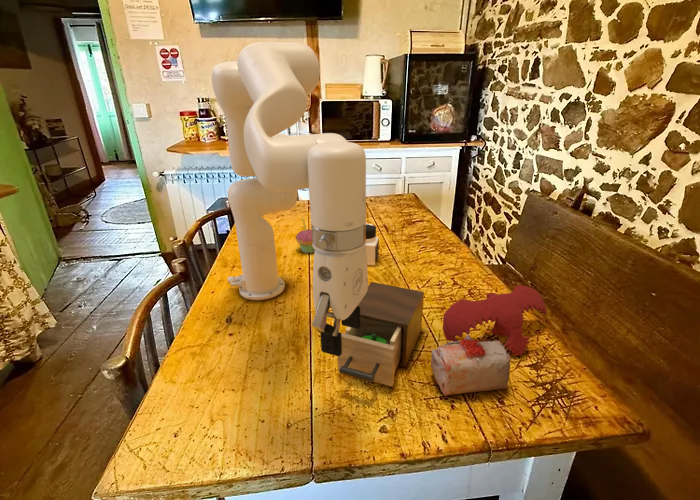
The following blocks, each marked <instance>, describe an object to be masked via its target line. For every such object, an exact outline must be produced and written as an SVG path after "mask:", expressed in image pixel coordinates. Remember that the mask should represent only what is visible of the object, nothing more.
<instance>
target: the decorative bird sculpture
mask: <svg viewBox="0 0 700 500" xmlns="http://www.w3.org/2000/svg"><path fill="white" fill-rule="evenodd" d="M529 309H530V310H531V311H532V312H534V309H535V310H536V311H538V312H539V311H540V312H541V314H544V316H545V317H546V316H547V312H548V311H547V307H546V303H545V301H544V299H543V297H542V295H541V294H540V293H539V292H538V291H537V290H536V289H534V288H532V287H530V286H527V285H521V284H518V285H515V286H514V287H513V290H512V291H511V292H509V293H493V292H489V293H486V298H485V299H482V300H477V301H476V300H469V299H465V298H460V299H459V300H457V301H456V302H454V303H452V304H451V305H450V306H449V308H447V310H446V311H445V312H444V314H443V316H442V321H443V322H442V331H443V334H444V338H445V340H446V341H449V342H457V337H458V338H463V333H465V334H466V335H468V334H469V335H470V333H471V329H473V330H477V324H478V325H479V326H484V323H486V324H489V321H490V322H491V323H494V324H493V327H492V328H491V330H489V329H485V330H484V331H483V332H484V333H486V334H487V337H489V336H490V334H493V335H497V336H501V337H505V336H506V338H507V341H506V342H505V343H504V344H503V346H504V347H506V351H507V350H508V351H509V350H510V354H512V357H516V356H519V357H520V358H521V357H522V356H523V355H522V354H526V350H527V349H529V347H528V344H530V343H531V342H530V341H529V339H530V336H525V335H524V334H523V324H524V314H525V312H527V313H529V312H530V310H529ZM525 349H526V350H525Z"/></svg>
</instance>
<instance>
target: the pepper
mask: <svg viewBox="0 0 700 500" xmlns="http://www.w3.org/2000/svg"><path fill="white" fill-rule="evenodd" d="M361 338H364V339H368V340H372V341H376V342H380V343H384V344H386V340H385V339H383V338H381V337H378V336H377V334H372V335H366V336H363V337H361Z"/></svg>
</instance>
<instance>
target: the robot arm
mask: <svg viewBox="0 0 700 500" xmlns="http://www.w3.org/2000/svg"><path fill="white" fill-rule="evenodd" d="M320 75H321V71H320V63H319V59H318V57H317V55H316V53H315V51H314V50H313V48H311V46H309V45H308V44H306V43H303V42H297V41H296V42H295V41H294V42H293V41H256V42H252V43H249V44H248V45H246V46H245V47H243V48H242V49H241V51H240V52H239V54H238V56H237V60H234V61H224V62H220V63H218V64H216V65H215V66H214V67H213V68H212V70H211V85H212V89H213V93H214V96H215V98H216V100H217V102H218V105H219V107H220V108H221V110H222V113H223V116H224V119H225V125H226V132H227V133H226V134H227V142H228V143H227V144H228V152H229V161H230V165H231V168H232V171H233V172H234V173H235V175H237V176H238V177H243V178H244V179H240V180H237V181H235V182H233V183H231V184H230V185H229V187H228V188H227V201H228V204H229V207H230V211H231V213H232V217H233V221H234V225H235V226H234V227H235V231H236V239H237V244H238V250H239V257H240V265H241V271H242V274H239V276H228V277H227V284H228V285H229V284H230V287H231V288H235V287H236V288H237V287H239V288H238V291H239V295H240V296H241V297H242V298H244V299H247V300H251V301H265V300H269V299H273V298H275V297H277V296H279V295H280V294H282V293H283V292H284V290H285V285H286V284H285V281H284V279H282V278H281V277H279V270H278V259H277V251H276V241H275V232H274V228H273V226H272V225H271V224H270V223H269V222H268V221H267V220H266V219H265V218H264V217H263V216H265V215H270V214H276V213H281V212H286V211H290V210H293V209H294V208H295V207H296V206H297V203H298V190H304V189H308V192H309V193H308V195H309V211H310V226H311V227H310V230H312V246H313V248H314V249H315V251H314V252H313V267H312V268H313V270H312V294H313V295H312V296H313V306H314V307H313V308H314V311H315V314H314V317H313V320H312V325H311V326H312V328H313V329H315V330H316V331H317V332H318V333H319V334H320V349H321V350H320V351H321V352H322V353H325V354H327V355H332V356H334V357H335V356H336V357H338V356H340V355H341V354H342V335H341V333H342V332H340V326H341V325H342V326H343V327H346V328H347V327H352V328H356V329H359V327H360V307H358V306H360V304H361V300H362V299H363V297H364V296H365V294H366V292H367V290H368V286H369V275H368V273H369V272H368V265H367V255H366V246H365V245H366V224H367V156H366V151H365V149H364V148H363V146H361V145H360V144H358V143H355V142H352V141H348V140H347V139H346V138H345V137H344V136H343V135H341V134H338V133H334V132H324V133H323V132H322V133H311V134H310V133H309V134H299V135H298V134H297V135H288V134H285V133H282V132H284V131H286V130H288V129H289V128H291V127H292V126H295V125H296V124H297V123H298V122H299V121H300V120H301V119H302V117H303V116H304V114H305V113H306V110H307V107H308V95H310V94H311V93H312V92H314V90H315V89H316V88H317V86H318V83H319V81H320ZM251 177H252V178H251ZM330 309H331V311H330ZM328 318H330V319H331V318H332V319H333V324H332V325H331V324H329V323H328V322H327V320H328Z"/></svg>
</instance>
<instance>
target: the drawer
mask: <svg viewBox="0 0 700 500" xmlns="http://www.w3.org/2000/svg"><path fill="white" fill-rule="evenodd" d="M403 332H404V327H400V326H396V325H391V324H387V323H383V322H378V321H374V320H370V319H365V318H361V317H360V327H359V329H356V328H352V327H347V326H346V329H345V333H343V332H340V333H341V335H342V354H341V355H340V356H337V371H338V373H339V374H341V375H345V376H347V377H351V378H355V379H359V380H361V381H365V382H368V383H374V382H375V383H377V384H378V383H379V384H381V385H385V386H387V387H393V385H394V384H395V372H396V370H397V368H398V366H399V365H398V363H399V361H400V359H401V357H402V352H403ZM372 334H377V336H378V337H381V338H383V339H385V340H386V344H384V343H380V342H376V341H372V340H368V339H364V338H361V337H363V336H366V335H372Z"/></svg>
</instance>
